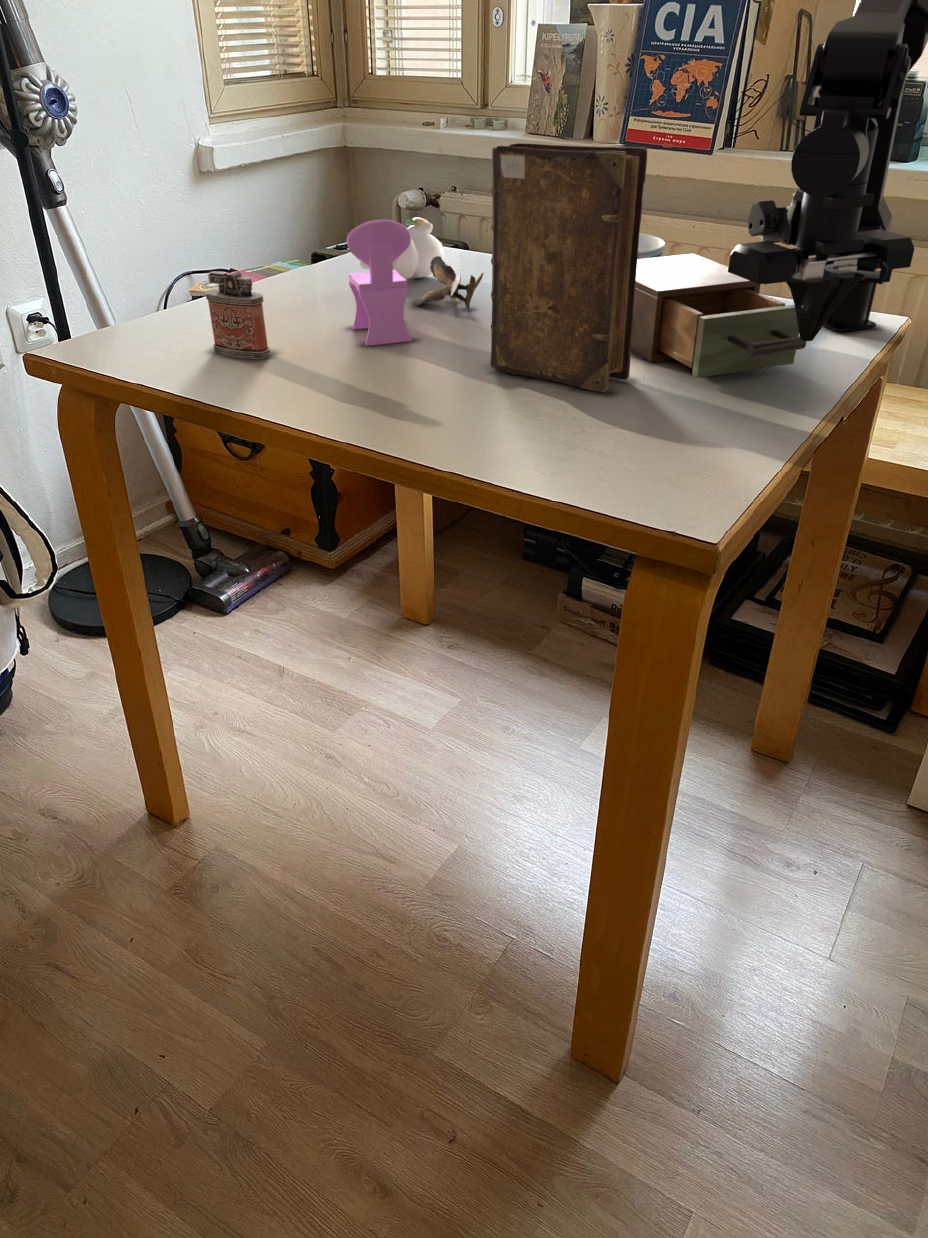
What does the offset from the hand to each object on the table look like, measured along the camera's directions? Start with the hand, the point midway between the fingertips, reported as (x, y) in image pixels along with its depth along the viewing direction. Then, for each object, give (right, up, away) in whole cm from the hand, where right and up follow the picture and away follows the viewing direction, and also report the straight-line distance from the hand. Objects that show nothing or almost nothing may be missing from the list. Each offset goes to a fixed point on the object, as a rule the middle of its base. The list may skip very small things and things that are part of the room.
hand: (806, 340), depth 100 cm
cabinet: (-9, +8, +25) cm, 27 cm away
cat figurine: (-46, +26, +53) cm, 75 cm away
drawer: (-5, +2, +14) cm, 15 cm away
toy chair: (-48, +9, +28) cm, 56 cm away
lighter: (-65, +4, +21) cm, 69 cm away
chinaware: (-14, +19, +43) cm, 50 cm away
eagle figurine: (-39, +17, +39) cm, 58 cm away
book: (-25, 0, +13) cm, 28 cm away
